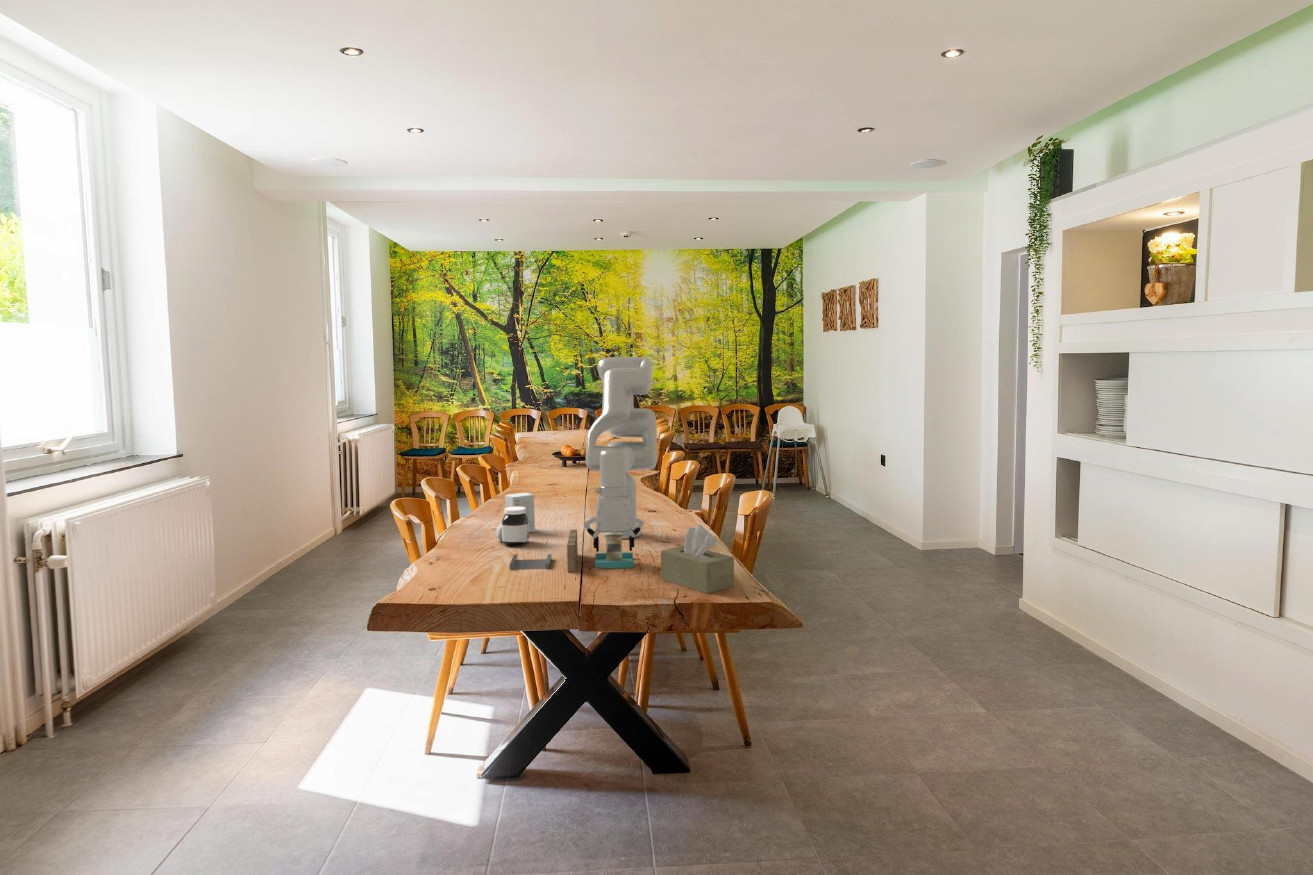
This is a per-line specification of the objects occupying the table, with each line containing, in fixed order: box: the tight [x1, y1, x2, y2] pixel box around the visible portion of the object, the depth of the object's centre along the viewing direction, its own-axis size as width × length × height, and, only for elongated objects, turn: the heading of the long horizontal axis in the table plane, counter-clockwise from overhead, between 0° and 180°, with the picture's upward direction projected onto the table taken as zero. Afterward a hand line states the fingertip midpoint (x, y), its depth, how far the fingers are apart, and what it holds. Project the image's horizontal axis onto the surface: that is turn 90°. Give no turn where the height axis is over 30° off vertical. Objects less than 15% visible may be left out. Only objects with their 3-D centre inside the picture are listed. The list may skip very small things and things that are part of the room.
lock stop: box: [605, 533, 623, 561], centre depth 236 cm, size 4×7×8 cm
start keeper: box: [509, 553, 552, 571], centre depth 235 cm, size 11×11×2 cm
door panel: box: [566, 529, 579, 573], centre depth 236 cm, size 20×2×8 cm, turn 3°
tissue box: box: [660, 524, 735, 594], centre depth 215 cm, size 19×10×16 cm, turn 39°
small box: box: [504, 492, 536, 533], centre depth 280 cm, size 8×6×13 cm
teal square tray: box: [594, 551, 635, 569], centre depth 237 cm, size 11×11×2 cm
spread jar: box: [494, 507, 530, 547], centre depth 263 cm, size 12×11×12 cm
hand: (614, 550), depth 236 cm, fingers open, 9 cm apart
